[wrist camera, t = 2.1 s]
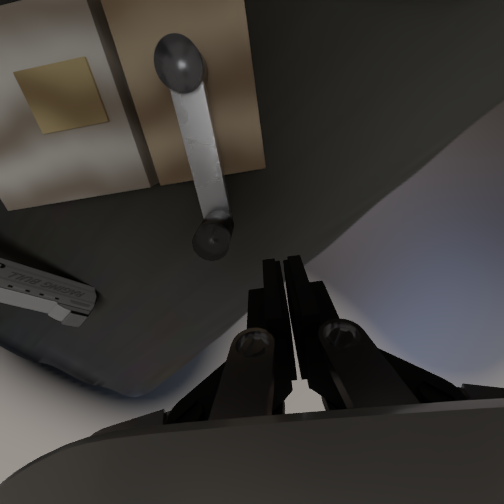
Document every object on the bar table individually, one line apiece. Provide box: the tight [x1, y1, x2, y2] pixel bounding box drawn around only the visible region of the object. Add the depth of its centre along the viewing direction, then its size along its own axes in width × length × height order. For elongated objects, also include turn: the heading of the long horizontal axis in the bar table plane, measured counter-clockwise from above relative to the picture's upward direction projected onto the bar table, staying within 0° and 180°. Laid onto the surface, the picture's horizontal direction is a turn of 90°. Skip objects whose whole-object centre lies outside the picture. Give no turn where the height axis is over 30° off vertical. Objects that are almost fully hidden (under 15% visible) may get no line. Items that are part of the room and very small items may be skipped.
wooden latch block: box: [0, 0, 266, 211], centre depth 22 cm, size 14×26×5 cm, turn 99°
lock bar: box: [154, 33, 234, 261], centre depth 19 cm, size 15×3×6 cm, turn 9°
